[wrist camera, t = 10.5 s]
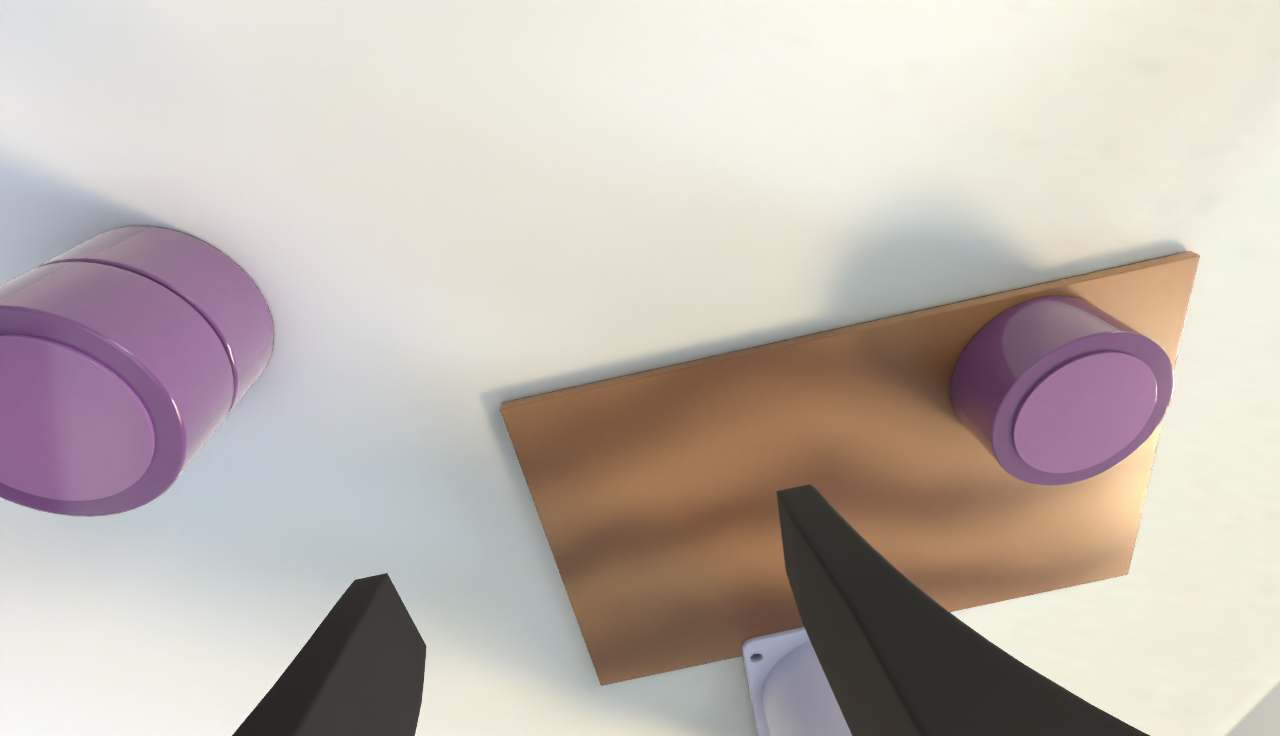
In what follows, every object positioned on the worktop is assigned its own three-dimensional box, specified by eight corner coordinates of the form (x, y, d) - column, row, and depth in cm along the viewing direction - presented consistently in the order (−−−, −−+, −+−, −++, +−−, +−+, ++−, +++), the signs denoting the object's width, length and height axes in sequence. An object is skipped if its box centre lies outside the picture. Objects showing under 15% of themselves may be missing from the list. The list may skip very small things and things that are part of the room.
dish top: (1101, 419, 24) (1159, 467, 21) (947, 453, 24) (989, 504, 21) (1125, 277, 21) (1194, 314, 18) (951, 316, 21) (999, 357, 19)
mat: (1121, 567, 28) (1128, 574, 28) (600, 677, 28) (601, 686, 28) (1190, 250, 21) (1201, 254, 21) (500, 402, 21) (499, 409, 21)
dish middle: (272, 427, 18) (228, 493, 16) (78, 470, 18) (6, 542, 16) (163, 237, 15) (89, 281, 13) (-64, 289, 16) (-177, 342, 13)
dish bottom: (307, 377, 20) (272, 427, 18) (135, 416, 21) (78, 470, 18) (216, 204, 18) (163, 237, 15) (19, 249, 18) (-64, 289, 16)
